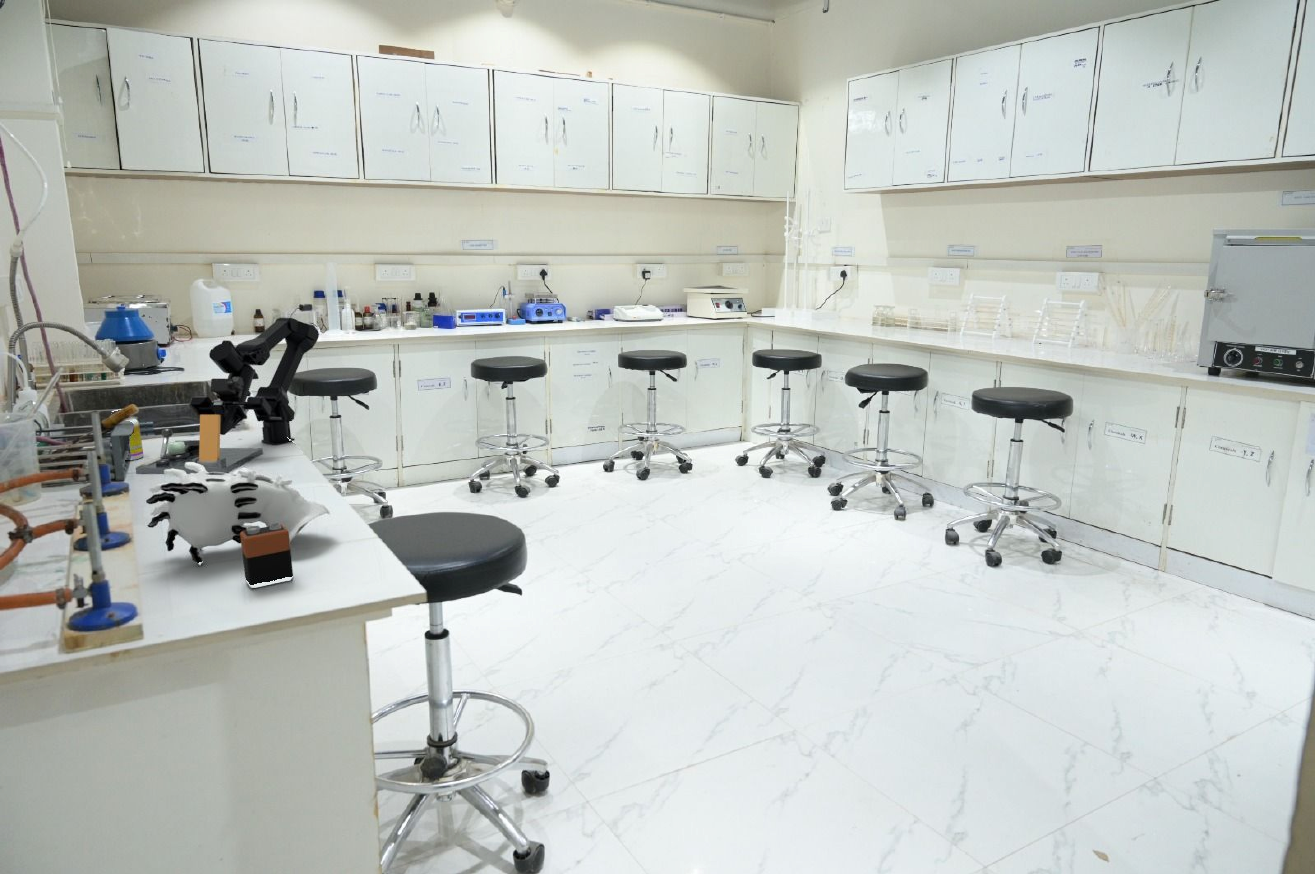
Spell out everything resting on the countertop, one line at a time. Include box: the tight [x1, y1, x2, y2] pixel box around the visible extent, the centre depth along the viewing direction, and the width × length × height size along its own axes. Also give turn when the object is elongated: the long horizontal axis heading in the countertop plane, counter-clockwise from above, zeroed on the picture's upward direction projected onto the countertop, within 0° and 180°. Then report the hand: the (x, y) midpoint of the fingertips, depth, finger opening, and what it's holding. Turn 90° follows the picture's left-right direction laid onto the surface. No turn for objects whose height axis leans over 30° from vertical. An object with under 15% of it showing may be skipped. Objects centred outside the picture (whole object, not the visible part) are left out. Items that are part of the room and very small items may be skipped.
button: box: [167, 440, 185, 454], centre depth 214 cm, size 4×4×2 cm
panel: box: [135, 445, 264, 475], centre depth 215 cm, size 21×22×4 cm
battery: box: [240, 523, 294, 585], centre depth 140 cm, size 4×7×10 cm, turn 126°
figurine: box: [145, 462, 330, 564], centre depth 153 cm, size 17×16×30 cm
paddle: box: [197, 414, 221, 467], centre depth 206 cm, size 2×5×13 cm, turn 90°
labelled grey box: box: [174, 439, 200, 446], centre depth 220 cm, size 7×4×1 cm, turn 0°
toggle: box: [159, 427, 174, 459], centre depth 209 cm, size 2×2×8 cm
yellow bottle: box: [111, 408, 144, 461], centre depth 218 cm, size 7×7×13 cm
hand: (221, 434), depth 211 cm, fingers closed
